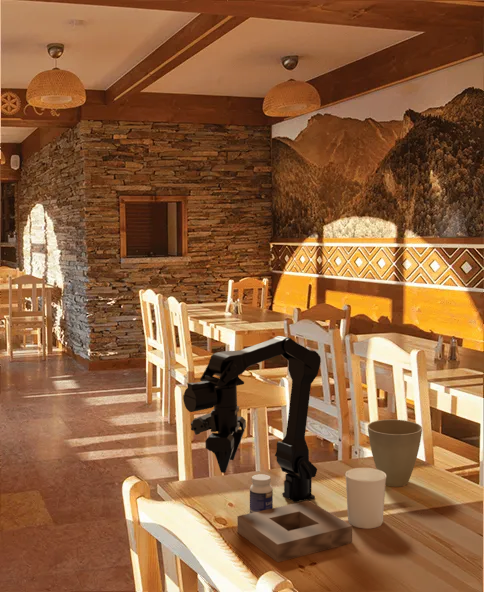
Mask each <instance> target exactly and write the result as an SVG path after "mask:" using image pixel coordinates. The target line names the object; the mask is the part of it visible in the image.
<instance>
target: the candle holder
mask: <svg viewBox="0 0 484 592" xmlns="http://www.w3.org/2000/svg"><path fill="white" fill-rule="evenodd" d="M345 484H346V485H345V486H346V487H345V488H346V489H345V490H346V504H347V505H346V506H347V507H346V508H347V509H346V510H347V521H348V524H350V525H352V527H355V528H360V529H368V530H369V529H375V528H379V527H381V526H382V525H383V521H384V511H385V497H386V486H387V485H386V474H385V473H384V472H383V471H380V470H377V469H376V468H372V467H354V468H351V469H348V470H346V471H345Z"/></svg>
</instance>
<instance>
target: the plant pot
mask: <svg viewBox="0 0 484 592" xmlns="http://www.w3.org/2000/svg"><path fill="white" fill-rule="evenodd" d="M367 433H368V434H367V435H368V439H369V444H370V450H371V455H372V458H373V461H374V465H375V469H377V470H380V471H383V472H384V473H385V474H386V485H385V486H389V487H395V488H396V487H398V488H399V487H404V486H407V485H408V484H409V481H410V479H411V477H412V474H413V471H414V468H415V465H416V462H417V458H418V454H419V451H420V445H421V439H422V433H423V426H422V425H421V424H419V423H417V422H414V421H410V420H405V419H404V420H403V419H380V420H379V419H378V420H374V421H372V422H369V423H368V424H367Z"/></svg>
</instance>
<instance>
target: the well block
mask: <svg viewBox="0 0 484 592" xmlns="http://www.w3.org/2000/svg"><path fill="white" fill-rule="evenodd" d="M236 519H237V533H238V534H239V535H241V536H242V538H245V539H246V540H247V541H249V542H250V543H251V544H252V545H253V546H256V547H257V548H258V549H260V550H261V551H262V552H263V553H265V554H266V555H267V556H268V557H270V558H272V559H273V560H274V561H275V562H277V563H280V562H284V561H287V560H292V559H294V558H300V557H303V556H307V555H310V554H315V553H317V552H321V551H325V550H329V549H334V548H337V547H341V546H344V545H348V544H353V525H351V524H350V523H349V522H347V521H345V520H344V519H341V518H340V517H338V516H336V515H334V514H333V513H331V512H330V511H328V510H326V509H324V508H322V507H321V506H319V505H317V504H315V503H313V502H312V501H310V500H303V501H299V502H294V503H290V504H285V505H282V506H278V507H273V508H272V509H267V510H263V511H258V512H254V513H250V512H249V513H245V514H240V515H238V516H237V518H236Z"/></svg>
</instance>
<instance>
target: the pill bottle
mask: <svg viewBox="0 0 484 592" xmlns="http://www.w3.org/2000/svg"><path fill="white" fill-rule="evenodd" d="M271 479H272V478H271V476H270V475H267V474H263V473H260V474H259V473H258V474H254V475H252V476H251V483H252V484H251V485H250V487H249V513H254V512H258V511H263V510H267V509H272V508H274V507H273V504H274V503H273V501H274V500H273V499H274V498H273V496H274V495H273V494H274V492H273V489H274V488H273V486H272V485H271V482H272V480H271Z"/></svg>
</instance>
